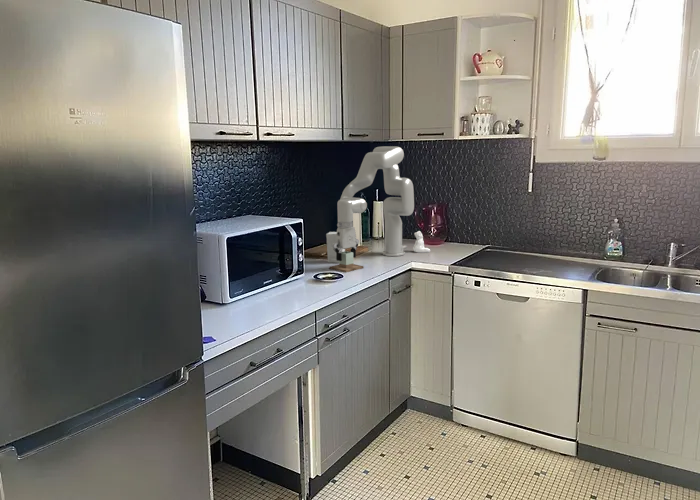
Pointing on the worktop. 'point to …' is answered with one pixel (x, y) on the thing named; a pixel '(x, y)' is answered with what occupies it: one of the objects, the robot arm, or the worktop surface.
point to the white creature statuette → (420, 244)
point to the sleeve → (346, 260)
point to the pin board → (346, 268)
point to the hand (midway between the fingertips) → (346, 258)
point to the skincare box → (330, 250)
